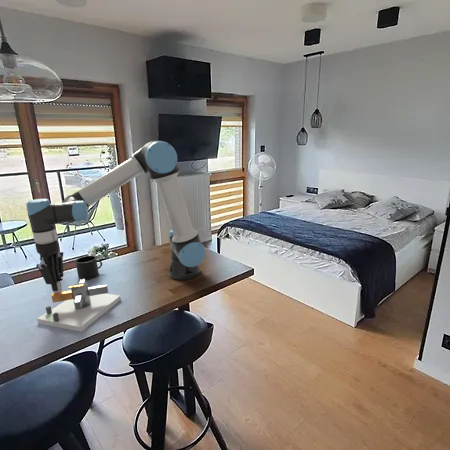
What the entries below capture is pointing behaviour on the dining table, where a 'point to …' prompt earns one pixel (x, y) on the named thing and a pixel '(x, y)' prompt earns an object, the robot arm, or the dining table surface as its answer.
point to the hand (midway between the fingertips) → (58, 296)
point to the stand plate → (78, 312)
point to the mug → (87, 267)
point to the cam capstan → (80, 294)
